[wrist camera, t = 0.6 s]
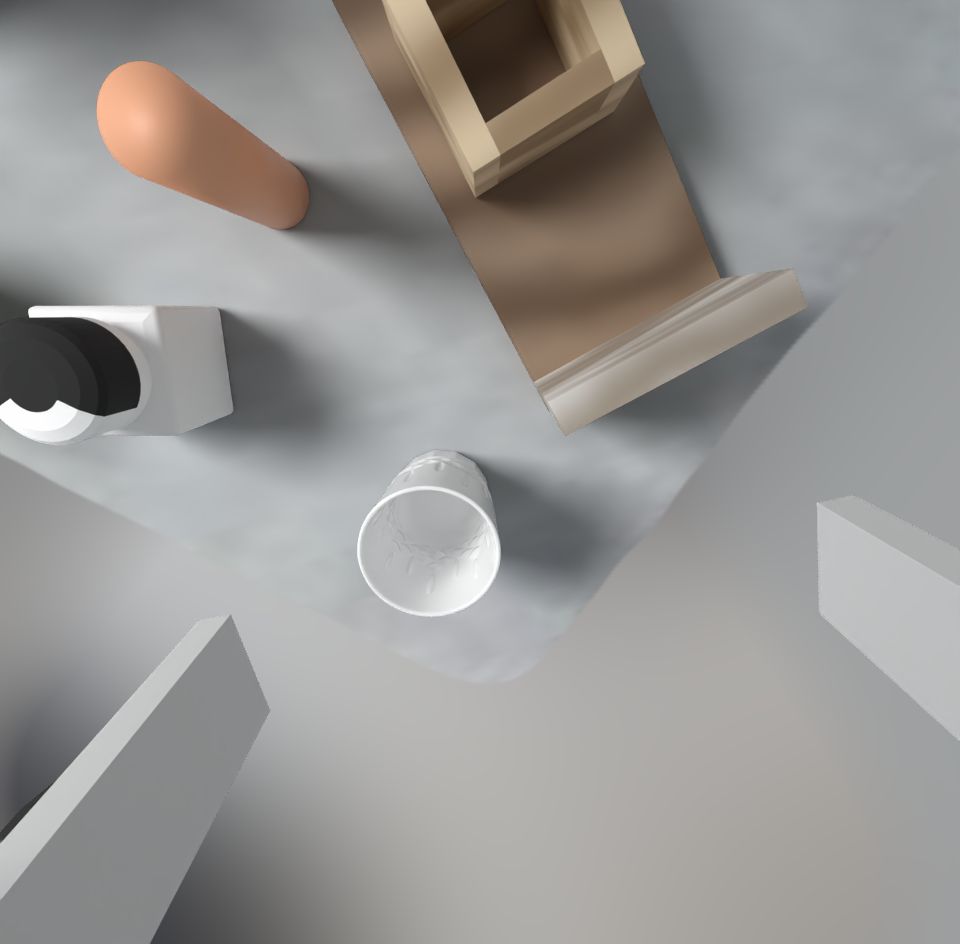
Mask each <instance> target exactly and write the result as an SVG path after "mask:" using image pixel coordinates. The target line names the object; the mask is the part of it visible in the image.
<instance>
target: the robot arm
mask: <svg viewBox="0 0 960 944" xmlns="http://www.w3.org/2000/svg"><path fill="white" fill-rule="evenodd" d="M817 524H818V525H817V527H818V577H819V613H820V614H821V615H822V616H823V617H824V618H825V619H826V620H827V621H828V622H830V623H831V624H832V625H833V626H834V627H835V628H836V629H838V631H839V632H841V633H842V634H843V635H844V636H845V637H846V638H847V639H848V640H849V641H850V642H851V643H853V644H854V645H855V646H856V647H857V648H858V649H859V650H860V651H861V652H862V653H863V654H865V655H866V656H867V657H868V658H869V659H870V660H871V661H872V662H873V663H874V664H875V665H877V666H878V667H879V668H880V669H881V670H882V671H883V672H884V673H885V674H886V675H887V676H889V677H890V678H891V679H892V680H893V681H894V682H895V683H896V684H897V685H898V686H900V687H901V688H902V689H903V690H904V691H905V692H906V693H908V695H909V696H911V697H912V698H913V699H914V700H915V701H916V702H917V703H918V704H919V705H920V706H922V707H923V708H924V709H925V710H926V711H927V712H928V713H929V714H930V715H931V716H932V717H933V718H935V719H936V720H937V721H938V722H939V723H940V724H941V725H943V727H944V728H946V729H947V730H948V731H949V732H950V733H951V734H952V735H953V736H954V737H955V738H956V739H958V740H959V741H960V549H958V548H956V547H954V546H952V545H950V544H948V543H946V542H944V541H942V540H940V539H938V538H936V537H934V536H932V535H930V534H928V533H926V532H925V531H923V530H921V529H919V528H917V527H915V526H913V525H911V524H909V523H907V522H905V521H903V520H901V519H899V518H897V517H895V516H893V515H891V514H889V513H887V512H885V511H884V510H882V509H880V508H878V507H876V506H874V505H872V504H870V503H868V502H866V501H864V500H862V499H860V498H858V497H856V496H854V495H853V496H848V497H843V498H837V499H832V500H827V501H822V502H817ZM269 712H270V709H269V707H268V705H267V702H266V699H265V697H264V695H263V692H262V689H261V688H260V685H259V682H258V680H257V678H256V675H255V672H254V670H253V668H252V665H251V663H250V660H249V658H248V655H247V653H246V650H245V648H244V646H243V643H242V641H241V638H240V636H239V633H238V631H237V629H236V626H235V624H234V621H233V619H232V616H231V615H230V614H229V615H224V616H219V617H214V618H209V619H204V620H199V621H198V622H197V623H196V624H195V626H194V627H193V628H192V629H191V630H190V631H189V632H188V633H187V634H186V635H185V637H184V638H183V639H182V640H181V641H180V642H179V643H178V645H177V646H176V647H175V648H174V649H173V650H172V651H171V652H170V653H169V655H168V656H167V657H166V658H165V659H164V660H163V661H162V663H161V664H160V665H159V666H158V667H157V668H156V669H155V671H153V673H152V674H151V675H150V676H149V677H148V678H147V679H146V680H145V682H144V683H143V684H142V685H141V686H140V687H139V688H138V690H137V691H136V692H135V693H134V694H133V695H132V696H131V697H130V698H129V700H128V701H127V702H126V703H125V704H124V705H123V706H122V707H121V709H120V710H119V711H118V712H117V713H116V714H115V715H114V717H113V718H112V719H111V720H110V721H109V722H108V723H107V724H106V725H105V727H104V728H103V729H102V730H101V731H100V732H99V733H98V734H97V736H96V737H95V738H94V739H93V740H92V741H91V742H90V744H89V745H88V746H87V747H86V748H85V749H84V750H83V751H82V752H81V753H80V755H79V756H78V757H77V758H76V759H75V760H74V762H73V763H72V764H71V765H70V766H69V767H68V768H67V770H65V771H64V773H63V774H62V775H61V776H60V777H59V778H58V779H57V780H56V781H55V782H54V783H52V784H51V785H50V786H49V787H48V788H46V789H45V790H44V791H43V792H41V793H40V794H39V795H38V796H36V797H35V798H34V799H33V800H32V801H30V802H29V803H28V804H27V805H26V806H24V807H23V808H22V809H21V810H20V811H19V812H18V813H17V814H16V815H15V817H14V818H13V819H12V820H11V821H10V822H9V823H8V824H7V825H6V826H5V828H4V829H3V830H2V831H1V832H0V944H150V942H151V940H152V938H153V936H154V934H155V932H156V930H157V928H158V926H159V924H160V923H161V921H162V919H163V917H164V915H165V913H166V911H167V909H168V907H169V905H170V903H171V901H172V899H173V897H174V895H175V894H176V892H177V890H178V888H179V886H180V884H181V882H182V880H183V878H184V876H185V874H186V872H187V870H188V868H189V866H190V865H191V862H192V861H193V859H194V857H195V855H196V853H197V851H198V849H199V847H200V845H201V843H202V841H203V839H204V838H205V836H206V834H207V832H208V830H209V828H210V826H211V824H212V822H213V820H214V818H215V816H216V814H217V812H218V810H219V808H220V807H221V805H222V803H223V801H224V799H225V797H226V795H227V793H228V791H229V789H230V787H231V785H232V783H233V781H234V780H235V778H236V776H237V774H238V772H239V770H240V768H241V766H242V764H243V762H244V760H245V758H246V756H247V754H248V752H249V750H250V749H251V747H252V745H253V743H254V741H255V739H256V737H257V735H258V733H259V731H260V729H261V727H262V725H263V723H264V722H265V720H266V718H267V716H268V713H269Z"/></svg>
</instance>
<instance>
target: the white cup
mask: <svg viewBox="0 0 960 944" xmlns="http://www.w3.org/2000/svg"><path fill="white" fill-rule="evenodd" d="M357 553H358V561H359V565H360V569H361V571H362V574H363V576H364V578H365V580H366V582H367V583H368V585H369V586H370V587H371V589H372V590H373V591H374V592H375V593H376V594H377V595H378V596H379V597H380V598H381V599H382V600H383V601H385V602H386V603H387V604H389V605H391V606H392V607H394V608H396V609H398V610H400V611H403V612H405V613H408V614H412V615H417V616H424V617H439V616H446V615H451V614H454V613H457V612H460V611H462V610H464V609H466V608H468V607H470V606H472V605H473V604H474V603H476V602H477V601H478V600H480V599H481V598H482V597H483V596H484V595H485V594H486V592H487V591H488V590H489V589H490V587H491V586H492V584H493V582H494V580H495V578H496V576H497V574H498V571H499V567H500V561H501V545H500V539H499V534H498V528H497V523H496V515H495V511H494V507H493V502H492V498H491V495H490V492H489V490H488V486H487V480H486V478H485V476H484V475H483V473H482V472H481V471H480V469H479V468H478V466H477V465H476V464H475V462H474V461H472V460H470V459H468V458H466V457H465V456H463V455H461V454H459V453H458V452H455V451H442V450H433V451H431V452H428V453H425V454H423V455H420V456H417V457H415V458H414V459H413V460H412V461H411V462H410V463H409V464H408V465H407V466H406V468H405V469H404V470H403V471H401V472H400V473H399V474H398V475H397V477H396V478H395V479H394V480H393V481H392V483H391V484H390V485H389V487H388V488H387V489H386V491H385V492H384V494H383V495H382V496H381V498H380V499H379V501H378V502H377V503H376V505H375V506H374V508H373V509H372V510H371V512H370V513H369V515H368V516H367V518H366V519H365V521H364V523H363V525H362V528H361V530H360V534H359V538H358V546H357Z"/></svg>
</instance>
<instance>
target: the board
mask: <svg viewBox="0 0 960 944" xmlns="http://www.w3.org/2000/svg"><path fill="white" fill-rule="evenodd" d="M332 1H333V3H334V5H335V7H336V9H337V11H338V13H339V15H340V17H341V19H342V21H343V23H344V25H345V26H346V28H347V30H348V32H349V34H350V36H351V38H352V40H353V42H354V43H355V45H356V47H357V49H358V51H359V53H360V55H361V57H362V59H363V61H364V62H365V64H366V66H367V68H368V70H369V72H370V74H371V76H372V78H373V79H374V81H375V83H376V85H377V87H378V89H379V91H380V93H381V95H382V97H383V98H384V100H385V102H386V104H387V106H388V108H389V110H390V112H391V114H392V115H393V117H394V119H395V121H396V123H397V125H398V127H399V129H400V131H401V132H402V134H403V136H404V138H405V140H406V142H407V144H408V146H409V148H410V150H411V151H412V153H413V155H414V157H415V159H416V161H417V163H418V165H419V167H420V168H421V170H422V172H423V174H424V176H425V178H426V180H427V182H428V184H429V186H430V187H431V189H432V191H433V193H434V195H435V197H436V199H437V201H438V203H439V204H440V206H441V208H442V210H443V212H444V214H445V216H446V218H447V220H448V222H449V223H450V225H451V227H452V229H453V231H454V233H455V235H456V237H457V239H458V240H459V242H460V244H461V246H462V248H463V250H464V252H465V254H466V256H467V258H468V259H469V261H470V263H471V265H472V267H473V269H474V271H475V273H476V275H477V276H478V278H479V280H480V282H481V284H482V286H483V288H484V290H485V292H486V294H487V295H488V297H489V299H490V301H491V303H492V305H493V307H494V309H495V311H496V312H497V314H498V316H499V318H500V320H501V322H502V324H503V326H504V328H505V330H506V331H507V333H508V335H509V337H510V339H511V341H512V343H513V345H514V347H515V348H516V350H517V352H518V354H519V356H520V358H521V360H522V362H523V364H524V366H525V367H526V369H527V371H528V373H529V375H530V377H531V379H532V381H533V383H534V384H535V386H536V388H537V390H538V392H539V394H540V396H541V398H542V400H543V401H544V403H545V405H546V407H547V409H548V410H549V411H550V413H551V415H552V416H553V418H554V419H555V421H556V422H557V424H558V425H559V427H560V429H561V430H562V432H563V433H564V435H565V436H566V435H568V434H570V433H572V432H573V431H575V430H577V429H579V428H581V427H583V426H585V425H587V424H589V423H590V422H592V421H594V420H596V419H598V418H600V417H602V416H604V415H606V414H607V413H609V412H611V411H613V410H615V409H617V408H619V407H621V406H622V405H624V404H626V403H628V402H630V401H632V400H634V399H636V398H638V397H639V396H641V395H643V394H645V393H647V392H649V391H651V390H653V389H655V388H656V387H658V386H660V385H662V384H664V383H666V382H668V381H670V380H672V379H673V378H675V377H677V376H679V375H681V374H683V373H685V372H687V371H688V370H690V369H692V368H694V367H696V366H698V365H700V364H702V363H704V362H705V361H707V360H709V359H711V358H713V357H715V356H717V355H719V354H721V353H722V352H724V351H726V350H728V349H730V348H732V347H734V346H736V345H737V344H739V343H741V342H743V341H745V340H747V339H749V338H751V337H753V336H754V335H756V334H758V333H760V332H762V331H764V330H766V329H768V328H770V327H771V326H773V325H775V324H777V323H779V322H781V321H783V320H785V319H786V318H788V317H790V316H792V315H794V314H796V313H798V312H800V311H802V310H803V309H805V308H807V305H806V302H805V299H804V296H803V294H802V291H801V288H800V285H799V283H798V280H797V277H796V274H795V272H794V269H787V270H779V271H772V272H765V273H758V274H750V275H743V276H736V277H728V278H720V276H719V273H718V271H717V268H716V266H715V263H714V261H713V258H712V256H711V253H710V251H709V248H708V246H707V243H706V241H705V238H704V236H703V233H702V231H701V228H700V226H699V223H698V221H697V218H696V216H695V214H694V211H693V209H692V206H691V204H690V201H689V199H688V196H687V194H686V191H685V189H684V186H683V184H682V181H681V179H680V176H679V174H678V171H677V169H676V166H675V164H674V161H673V159H672V156H671V154H670V152H669V149H668V147H667V144H666V142H665V139H664V137H663V134H662V132H661V129H660V127H659V124H658V122H657V119H656V117H655V114H654V112H653V109H652V107H651V104H650V102H649V99H648V97H647V95H646V92H645V90H644V87H643V85H642V82H641V80H640V77H639V75H637V77H636V78H635V80H634V81H633V83H632V84H631V86H630V87H629V89H628V91H627V92H626V94H625V95H624V97H623V98H622V100H621V101H620V103H619V104H618V106H617V108H616V109H615V111H614V112H612V113H610V114H609V115H607V116H606V117H604V118H602V119H601V120H599V121H598V122H596V123H594V124H593V125H591V126H590V127H588V128H586V129H585V130H583V131H582V132H580V133H578V134H577V135H575V136H574V137H572V138H570V139H569V140H567V141H566V142H564V143H562V144H561V145H559V146H558V147H556V148H554V149H553V150H551V151H550V152H548V153H546V154H545V155H543V156H542V157H540V158H538V159H537V160H535V161H534V162H532V163H530V164H529V165H527V166H526V167H524V168H522V169H521V170H519V171H518V172H516V173H514V174H513V175H511V176H510V177H508V178H506V179H505V180H503V181H502V182H500V183H498V184H497V185H495V186H494V187H492V188H490V189H489V190H487V191H486V192H484V193H482V194H481V195H479V196H478V197H476V198H475V196H474V194H473V192H472V190H471V188H470V186H469V184H468V182H467V180H466V178H465V176H464V174H463V173H462V171H461V169H460V167H459V165H458V163H457V161H456V159H455V157H454V155H453V153H452V151H451V149H450V147H449V145H448V143H447V141H446V139H445V137H444V135H443V133H442V131H441V129H440V127H439V125H438V123H437V121H436V119H435V117H434V115H433V114H432V112H431V110H430V108H429V106H428V104H427V102H426V100H425V98H424V96H423V94H422V92H421V90H420V88H419V86H418V84H417V82H416V80H415V78H414V76H413V74H412V72H411V70H410V68H409V66H408V64H407V62H406V60H405V58H404V56H403V54H402V53H401V51H400V49H399V47H398V45H397V43H396V41H395V39H394V36H393V33H392V30H391V27H390V24H389V20H388V17H387V14H386V11H385V8H384V5H383V2H382V0H332ZM446 44H447V46H448V48H449V50H450V52H451V54H452V56H453V58H454V60H455V62H456V64H457V66H458V68H459V70H460V72H461V75H462V77H463V79H464V81H465V83H466V85H467V87H468V89H469V91H470V93H471V95H472V97H473V99H474V101H475V103H476V105H477V107H478V110H479V112H480V114H481V116H482V118H483V120H484V122H485V123H487V122H488V121H490V120H492V119H493V118H495V117H496V116H498V115H499V114H501V113H502V112H504V111H505V110H507V109H509V108H510V107H512V106H513V105H515V104H516V103H518V102H519V101H521V100H522V99H524V98H526V97H527V96H529V95H530V94H532V93H533V92H535V91H536V90H538V89H539V88H541V87H543V86H544V85H546V84H547V83H549V82H550V81H552V80H553V79H555V78H557V77H558V76H560V75H561V74H563V73H564V72H566V70H565V68H564V65H563V63H562V61H561V58H560V56H559V54H558V51H557V49H556V47H555V45H554V42H553V40H552V38H551V35H550V33H549V31H548V29H547V26H546V24H545V22H544V19H543V17H542V15H541V13H540V10H539V8H538V6H537V3H536V1H535V0H507V1H505V2H504V3H502V4H501V5H500V6H498V7H497V8H495V9H494V10H492V11H491V12H489V13H488V14H486V15H485V16H483V17H482V18H481V19H479V20H478V21H476V22H475V23H473V24H472V25H470V26H469V27H467V28H466V29H464V30H463V31H461V32H460V33H459V34H457V35H456V36H454V37H453V38H451V39H450V40H448V41H447V42H446Z"/></svg>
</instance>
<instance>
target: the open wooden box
mask: <svg viewBox="0 0 960 944" xmlns="http://www.w3.org/2000/svg"><path fill="white" fill-rule="evenodd" d="M505 1H507V0H382V2H383V5H384V8H385V11H386V14H387V17H388V20H389V24H390V27H391V30H392V33H393V36H394V39H395V41H396V43H397V45H398V47H399V49H400V51H401V53H402V54H403V56H404V58H405V60H406V62H407V64H408V66H409V68H410V70H411V72H412V74H413V76H414V78H415V80H416V82H417V84H418V86H419V88H420V90H421V92H422V94H423V96H424V98H425V100H426V102H427V104H428V106H429V108H430V110H431V112H432V114H433V115H434V117H435V119H436V121H437V123H438V125H439V127H440V129H441V131H442V133H443V135H444V137H445V139H446V141H447V143H448V145H449V147H450V149H451V151H452V153H453V155H454V157H455V159H456V161H457V163H458V165H459V167H460V169H461V171H462V173H463V174H464V176H465V178H466V180H467V182H468V184H469V186H470V188H471V190H472V192H473V194H474V196H475V198H476V197H478V196H479V195H481V194H482V193H484V192H486V191H487V190H489V189H490V188H492V187H494V186H495V185H497V184H498V183H500V182H502V181H503V180H505V179H506V178H508V177H510V176H511V175H513V174H514V173H516V172H518V171H519V170H521V169H522V168H524V167H526V166H527V165H529V164H530V163H532V162H534V161H535V160H537V159H538V158H540V157H542V156H543V155H545V154H546V153H548V152H550V151H551V150H553V149H554V148H556V147H558V146H559V145H561V144H562V143H564V142H566V141H567V140H569V139H570V138H572V137H574V136H575V135H577V134H578V133H580V132H582V131H583V130H585V129H586V128H588V127H590V126H591V125H593V124H594V123H596V122H598V121H599V120H601V119H602V118H604V117H606V116H607V115H609V114H610V113H612V112H614V111H615V109H616V108H617V106H618V104H619V103H620V101H621V100H622V98H623V97H624V95H625V94H626V92H627V91H628V89H629V87H630V86H631V84H632V83H633V81H634V80H635V78H636V77H637V75H638V74H639V72H640V70H641V69H642V67H643V66H644V64H645V62H644V60H643V57H642V55H641V52H640V50H639V47H638V45H637V42H636V40H635V37H634V35H633V32H632V30H631V27H630V25H629V22H628V20H627V17H626V15H625V12H624V10H623V7H622V5H621V2H620V0H535V1H536V3H537V6H538V8H539V10H540V13H541V15H542V17H543V19H544V22H545V24H546V26H547V29H548V31H549V33H550V35H551V38H552V40H553V42H554V45H555V47H556V49H557V51H558V54H559V56H560V58H561V61H562V63H563V65H564V68H565V70H566V72H564V73H563V74H561V75H560V76H558V77H557V78H555V79H553V80H552V81H550V82H549V83H547V84H546V85H544V86H543V87H541V88H539V89H538V90H536V91H535V92H533V93H532V94H530V95H529V96H527V97H526V98H524V99H522V100H521V101H519V102H518V103H516V104H515V105H513V106H512V107H510V108H509V109H507V110H505V111H504V112H502V113H501V114H499V115H498V116H496V117H495V118H493V119H492V120H490V121H488V122H487V123H485V122H484V120H483V118H482V116H481V114H480V112H479V110H478V107H477V105H476V103H475V101H474V99H473V97H472V95H471V93H470V91H469V89H468V87H467V85H466V83H465V81H464V79H463V77H462V75H461V72H460V70H459V68H458V66H457V64H456V62H455V60H454V58H453V56H452V54H451V52H450V50H449V48H448V46H447V44H446V42H447V41H448V40H450V39H451V38H453V37H454V36H456V35H457V34H459V33H460V32H461V31H463V30H464V29H466V28H467V27H469V26H470V25H472V24H473V23H475V22H476V21H478V20H479V19H481V18H482V17H483V16H485V15H486V14H488V13H489V12H491V11H492V10H494V9H495V8H497V7H498V6H500V5H501V4H502V3H504V2H505Z"/></svg>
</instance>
